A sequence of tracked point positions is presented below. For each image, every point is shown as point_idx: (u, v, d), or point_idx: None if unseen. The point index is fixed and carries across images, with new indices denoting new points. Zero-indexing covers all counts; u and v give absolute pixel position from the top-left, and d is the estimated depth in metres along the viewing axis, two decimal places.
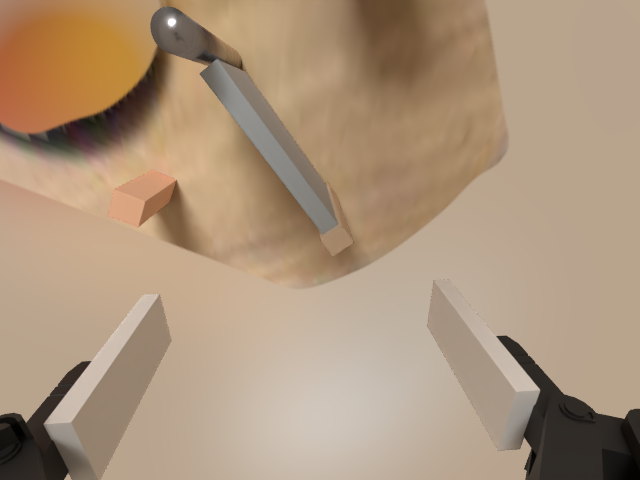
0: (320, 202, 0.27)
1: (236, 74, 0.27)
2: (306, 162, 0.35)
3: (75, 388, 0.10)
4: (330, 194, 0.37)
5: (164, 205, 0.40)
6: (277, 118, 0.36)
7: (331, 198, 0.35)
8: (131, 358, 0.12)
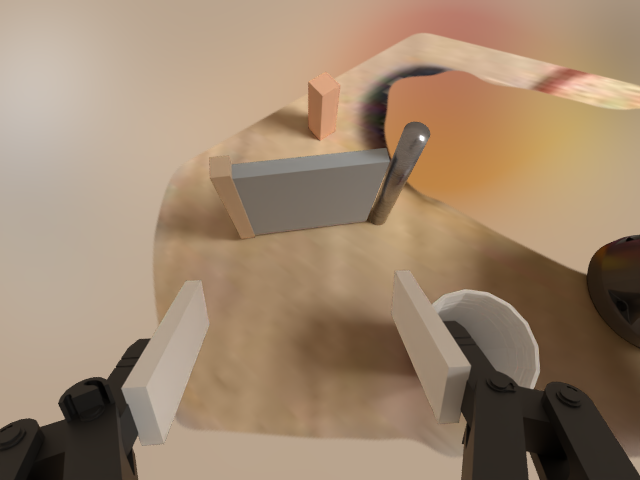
0: (259, 175, 0.31)
1: (372, 186, 0.36)
2: (285, 217, 0.40)
3: (142, 359, 0.11)
4: (248, 220, 0.39)
5: (308, 119, 0.50)
6: (326, 220, 0.43)
7: (246, 215, 0.38)
8: (183, 336, 0.14)
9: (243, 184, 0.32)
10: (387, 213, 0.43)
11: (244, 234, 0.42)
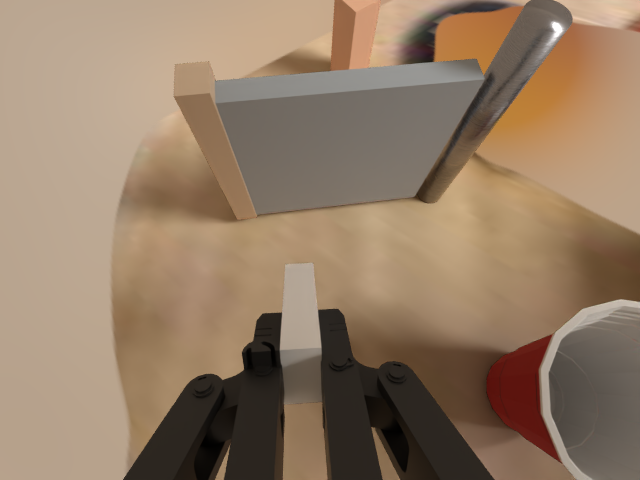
0: (261, 97, 0.18)
1: (441, 132, 0.23)
2: (300, 185, 0.27)
3: (284, 327, 0.13)
4: (246, 189, 0.26)
5: (331, 61, 0.37)
6: (360, 193, 0.30)
7: (243, 179, 0.25)
8: None
9: (235, 117, 0.19)
10: (448, 184, 0.30)
11: (241, 212, 0.29)
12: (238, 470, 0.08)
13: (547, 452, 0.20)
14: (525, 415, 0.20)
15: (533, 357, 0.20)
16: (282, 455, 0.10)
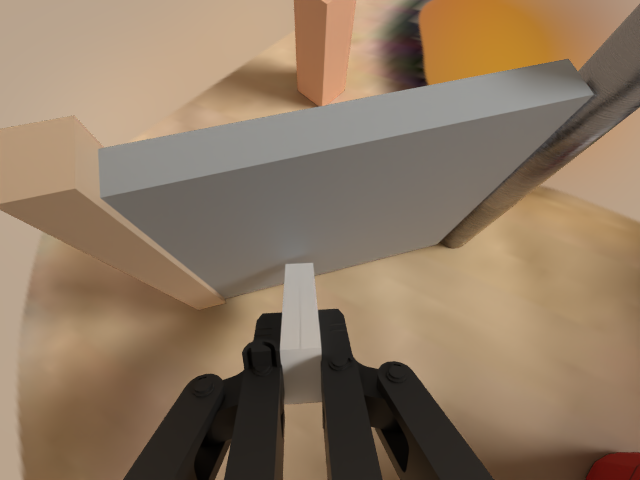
0: (194, 175, 0.09)
1: (496, 175, 0.15)
2: (284, 263, 0.18)
3: (284, 327, 0.13)
4: (203, 283, 0.17)
5: (297, 73, 0.28)
6: (367, 254, 0.21)
7: (193, 275, 0.16)
8: None
9: (151, 210, 0.10)
10: (485, 227, 0.22)
11: (202, 304, 0.20)
12: (238, 470, 0.08)
13: None
14: None
15: None
16: (282, 455, 0.10)
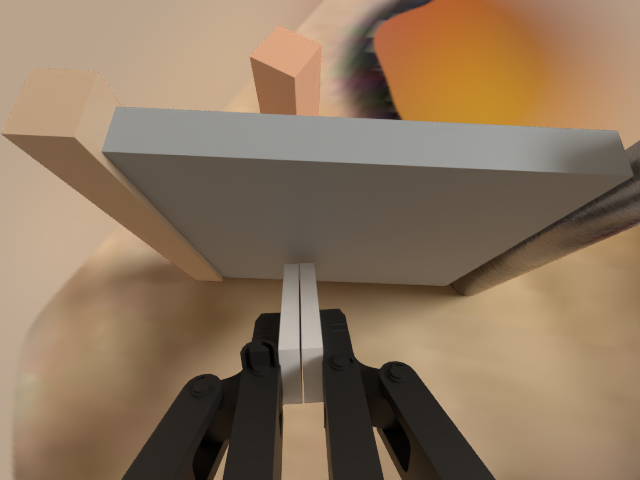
0: (191, 152, 0.09)
1: (513, 233, 0.14)
2: (281, 260, 0.18)
3: (283, 327, 0.13)
4: (200, 256, 0.18)
5: None
6: (369, 275, 0.21)
7: (191, 246, 0.16)
8: (299, 311, 0.15)
9: (149, 175, 0.10)
10: None
11: (198, 275, 0.21)
12: (237, 470, 0.08)
13: None
14: None
15: None
16: (281, 455, 0.10)
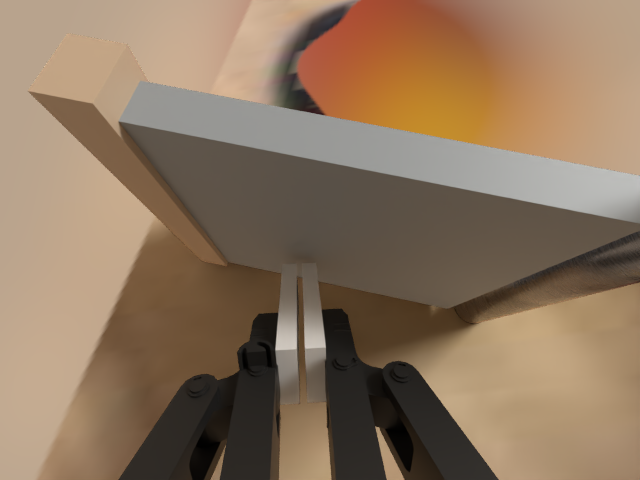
0: (202, 135, 0.10)
1: (520, 265, 0.13)
2: (284, 255, 0.18)
3: (280, 328, 0.13)
4: (206, 238, 0.18)
5: None
6: (370, 284, 0.20)
7: (198, 227, 0.17)
8: (297, 311, 0.15)
9: (162, 151, 0.11)
10: None
11: (204, 256, 0.21)
12: (234, 471, 0.08)
13: None
14: None
15: None
16: (278, 455, 0.10)
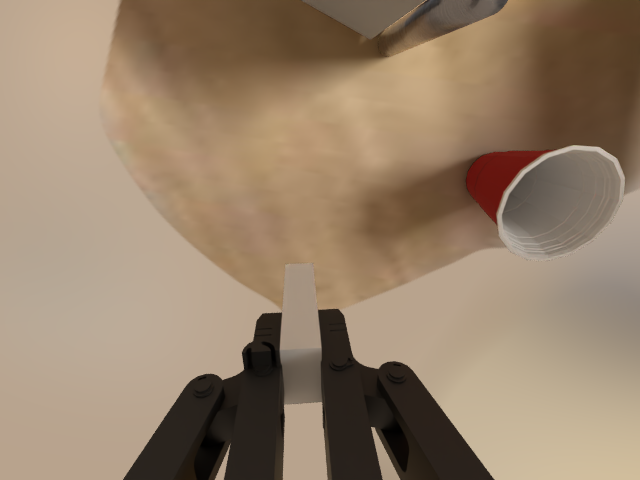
0: None
1: (390, 11, 0.23)
2: None
3: (284, 327, 0.13)
4: None
5: None
6: (319, 4, 0.29)
7: None
8: None
9: None
10: None
11: None
12: (238, 470, 0.08)
13: None
14: (491, 217, 0.34)
15: (494, 190, 0.31)
16: (282, 455, 0.10)
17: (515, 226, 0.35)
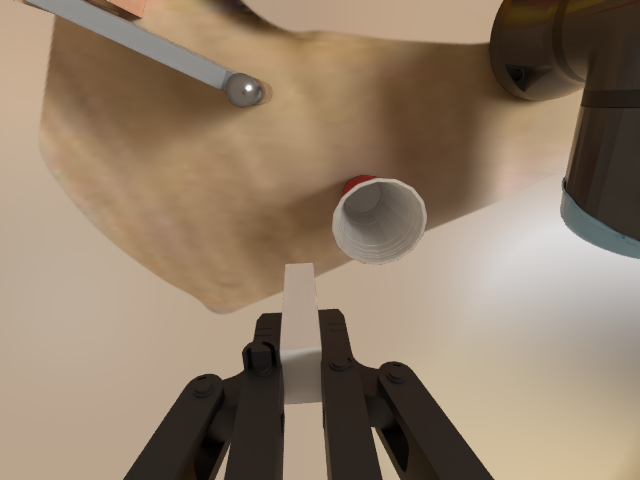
0: (57, 13, 0.25)
1: None
2: None
3: (284, 327, 0.13)
4: None
5: None
6: None
7: None
8: None
9: None
10: (268, 98, 0.39)
11: None
12: (238, 470, 0.08)
13: None
14: None
15: (340, 209, 0.40)
16: (282, 455, 0.10)
17: (369, 236, 0.44)
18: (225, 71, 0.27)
